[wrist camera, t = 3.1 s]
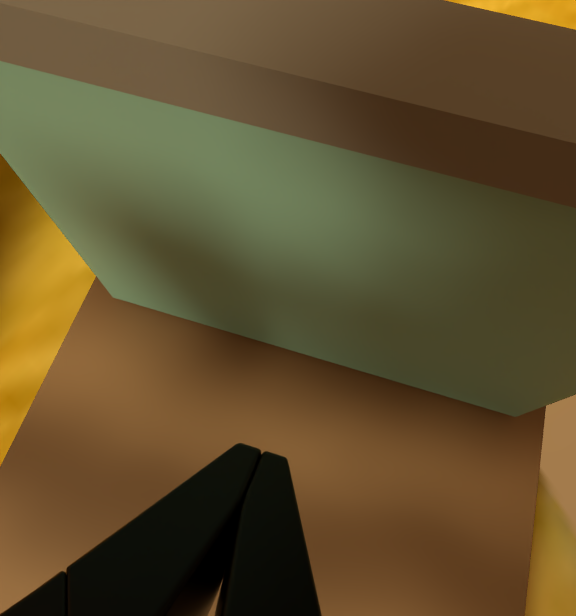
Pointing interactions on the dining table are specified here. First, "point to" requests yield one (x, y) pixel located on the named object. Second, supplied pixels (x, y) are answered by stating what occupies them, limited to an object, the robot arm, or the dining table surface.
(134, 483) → the brown flat block
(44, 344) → the dining table surface
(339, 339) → the tailgate
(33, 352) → the dining table surface
